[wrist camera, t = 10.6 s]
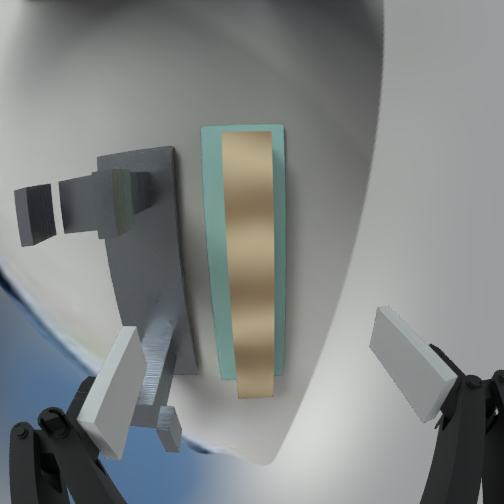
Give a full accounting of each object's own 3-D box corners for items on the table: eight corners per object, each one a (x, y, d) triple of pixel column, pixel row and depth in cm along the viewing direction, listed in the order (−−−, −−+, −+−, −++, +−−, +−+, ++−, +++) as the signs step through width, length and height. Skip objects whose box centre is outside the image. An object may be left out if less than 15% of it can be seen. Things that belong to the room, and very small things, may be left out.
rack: (102, 157, 22) (8, 154, 9) (173, 147, 22) (117, 122, 10) (140, 366, 28) (109, 455, 16) (198, 367, 29) (189, 464, 16)
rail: (222, 139, 22) (221, 132, 18) (264, 138, 22) (271, 131, 18) (236, 374, 29) (238, 399, 25) (268, 371, 29) (273, 396, 25)
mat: (201, 128, 22) (200, 126, 21) (281, 125, 22) (283, 124, 22) (221, 376, 29) (221, 379, 29) (282, 371, 30) (283, 375, 29)
